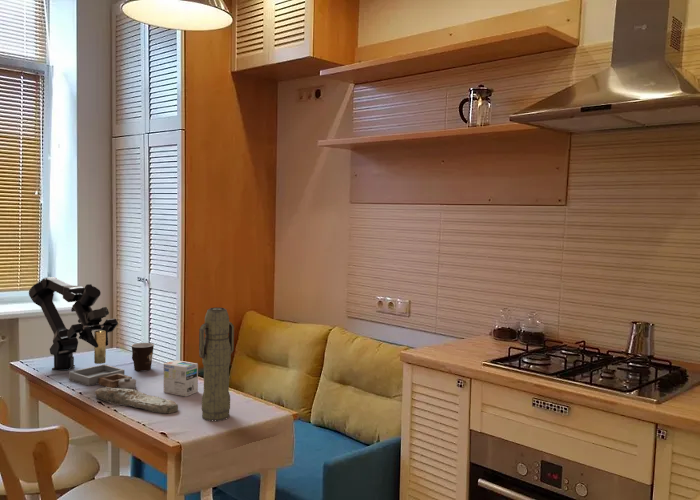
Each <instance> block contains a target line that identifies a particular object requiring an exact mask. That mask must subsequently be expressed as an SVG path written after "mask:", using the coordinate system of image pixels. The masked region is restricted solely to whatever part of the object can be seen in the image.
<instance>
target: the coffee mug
mask: <svg viewBox="0 0 700 500" xmlns="http://www.w3.org/2000/svg"><path fill="white" fill-rule="evenodd" d="M154 347H155V344H154V343H151V342H136V343H133V344H131V351H132V352H131V353H132V355H131V359H132V363H133V369H134V371H136V372H148V371H150V370H151V369H152V362H153V354H154Z"/></svg>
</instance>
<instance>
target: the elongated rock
mask: <svg viewBox="0 0 700 500" xmlns="http://www.w3.org/2000/svg"><path fill="white" fill-rule="evenodd" d="M94 395H95V396H96V398H97V399H100V400H101V401H103V402H106V403H109V404H110V405H120V406H125V407H128V406H131V407H134V409H142V410H145V411H148V412H153V413H159V414H161V413H163V414H173V413H176V412H178V410H179V404H178V403H176V402H175V401H174V400H172V399H166V398H162V397H159V396H158V397H157V396H155V395H154V396H153V395H148V394H147V393H144V392H141V391H139V390H138V389H126V388H123V389H121V388H119V387H117V388H110V387H105V386H104V387H99V388H97V389H96V390H95V391H94Z"/></svg>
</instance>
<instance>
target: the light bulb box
mask: <svg viewBox="0 0 700 500" xmlns="http://www.w3.org/2000/svg"><path fill="white" fill-rule="evenodd" d="M198 392H199V364H198V362H191V361H183V360H177V359H174V360H171V361H167V362H164V363H163V393H167V394H172V395H177V396H181V397H188V396H191V395H193V394H196V393H198Z"/></svg>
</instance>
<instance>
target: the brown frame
mask: <svg viewBox="0 0 700 500" xmlns="http://www.w3.org/2000/svg"><path fill="white" fill-rule="evenodd" d="M98 385H100V386H102V387H104V388H105V387H110V388H121V389H123V388H126V389H133V390H135V389H136V388H137V380H136V379H135V378H133V376H129V375H126V374H124V375H123V374H119V373H117V374H113V375H108V376H104V377H100V378H99V384H98Z"/></svg>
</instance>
